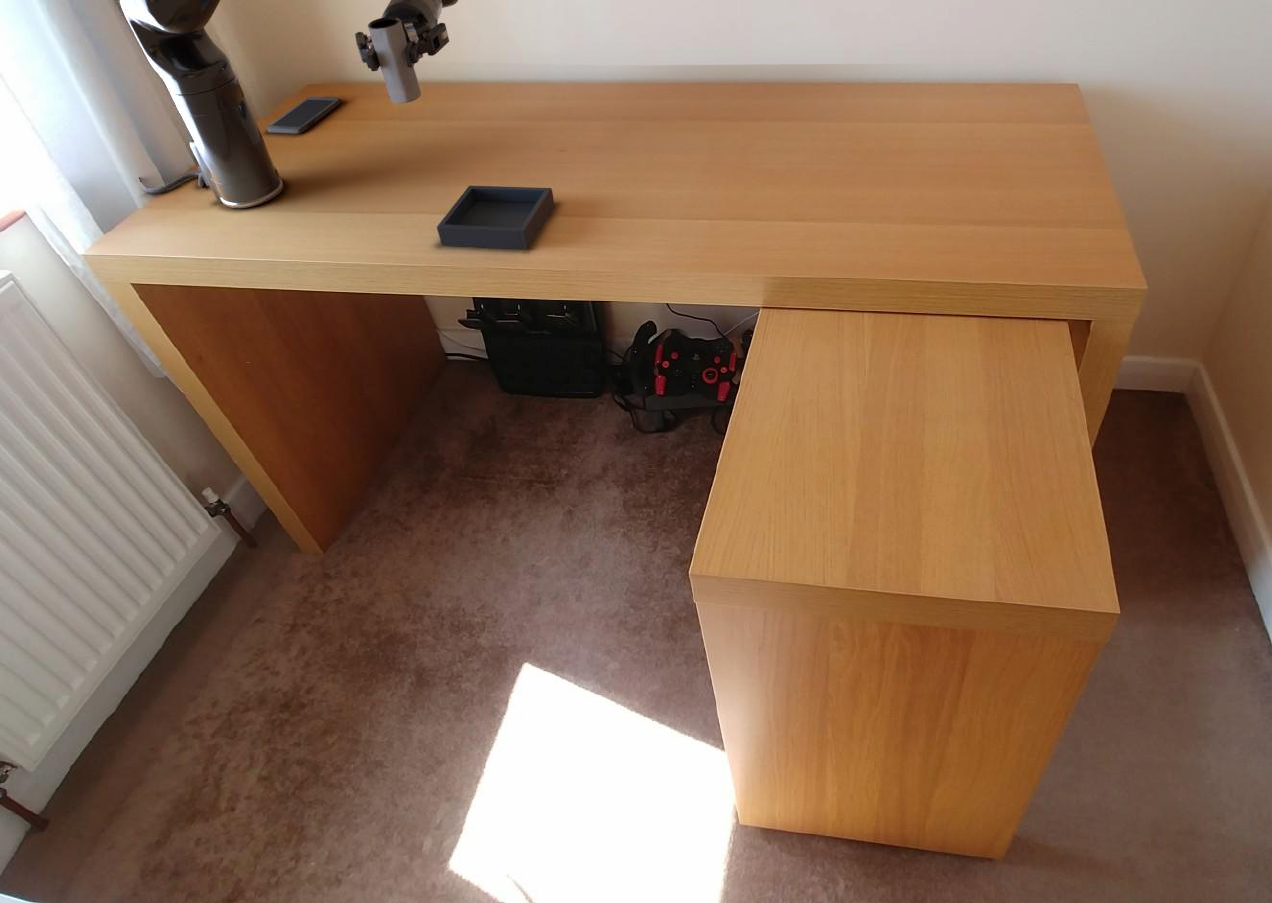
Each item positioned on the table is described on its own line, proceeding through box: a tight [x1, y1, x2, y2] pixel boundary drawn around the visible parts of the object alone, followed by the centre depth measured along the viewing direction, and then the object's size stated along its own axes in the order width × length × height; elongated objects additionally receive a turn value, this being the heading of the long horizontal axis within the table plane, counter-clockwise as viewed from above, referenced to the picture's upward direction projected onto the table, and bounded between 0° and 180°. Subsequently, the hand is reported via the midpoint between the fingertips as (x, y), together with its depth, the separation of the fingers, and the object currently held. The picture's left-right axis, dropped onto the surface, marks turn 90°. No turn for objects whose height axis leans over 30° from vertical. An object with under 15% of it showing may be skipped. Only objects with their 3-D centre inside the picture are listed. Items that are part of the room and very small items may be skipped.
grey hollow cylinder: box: [367, 17, 422, 104], centre depth 117 cm, size 4×4×10 cm
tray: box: [436, 185, 556, 251], centre depth 114 cm, size 13×12×3 cm
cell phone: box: [266, 96, 342, 135], centre depth 150 cm, size 7×14×1 cm, turn 161°
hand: (390, 61), depth 115 cm, fingers closed on grey hollow cylinder, 4 cm apart
